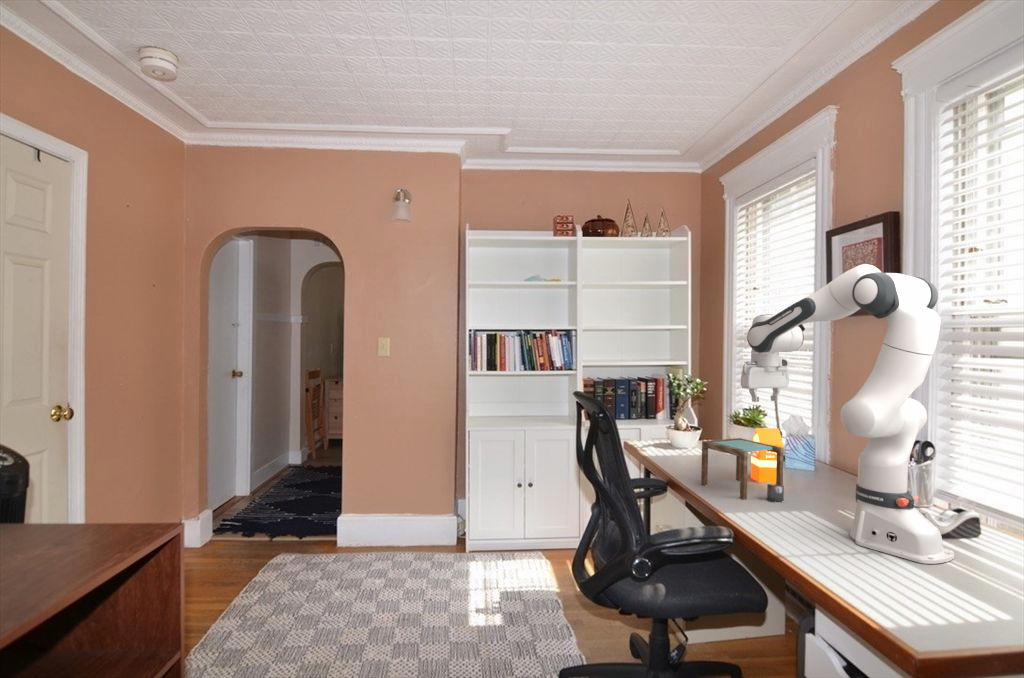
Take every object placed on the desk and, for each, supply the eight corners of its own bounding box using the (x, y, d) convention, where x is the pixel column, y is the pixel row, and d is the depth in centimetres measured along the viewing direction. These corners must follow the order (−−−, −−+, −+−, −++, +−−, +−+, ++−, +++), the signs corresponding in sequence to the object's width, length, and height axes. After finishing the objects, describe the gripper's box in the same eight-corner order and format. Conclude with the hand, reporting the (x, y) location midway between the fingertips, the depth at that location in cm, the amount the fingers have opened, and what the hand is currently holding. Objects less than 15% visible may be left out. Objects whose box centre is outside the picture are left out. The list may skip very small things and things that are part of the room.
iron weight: (786, 501, 181) (787, 486, 181) (776, 503, 179) (776, 488, 179) (773, 497, 185) (774, 482, 185) (763, 499, 183) (763, 484, 183)
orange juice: (782, 483, 203) (784, 430, 203) (759, 483, 203) (760, 429, 203) (773, 478, 211) (774, 426, 211) (750, 477, 211) (751, 426, 211)
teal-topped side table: (782, 493, 190) (783, 447, 190) (743, 499, 182) (744, 451, 182) (738, 480, 207) (739, 438, 207) (701, 484, 199) (702, 441, 199)
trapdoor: (772, 449, 191) (772, 446, 191) (743, 452, 185) (743, 449, 185) (739, 442, 204) (739, 439, 204) (711, 444, 198) (711, 441, 198)
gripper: (751, 361, 182) (751, 403, 181) (792, 361, 191) (792, 401, 190) (736, 361, 187) (736, 401, 187) (776, 361, 196) (776, 399, 196)
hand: (764, 401), depth 189 cm, fingers open, 8 cm apart
